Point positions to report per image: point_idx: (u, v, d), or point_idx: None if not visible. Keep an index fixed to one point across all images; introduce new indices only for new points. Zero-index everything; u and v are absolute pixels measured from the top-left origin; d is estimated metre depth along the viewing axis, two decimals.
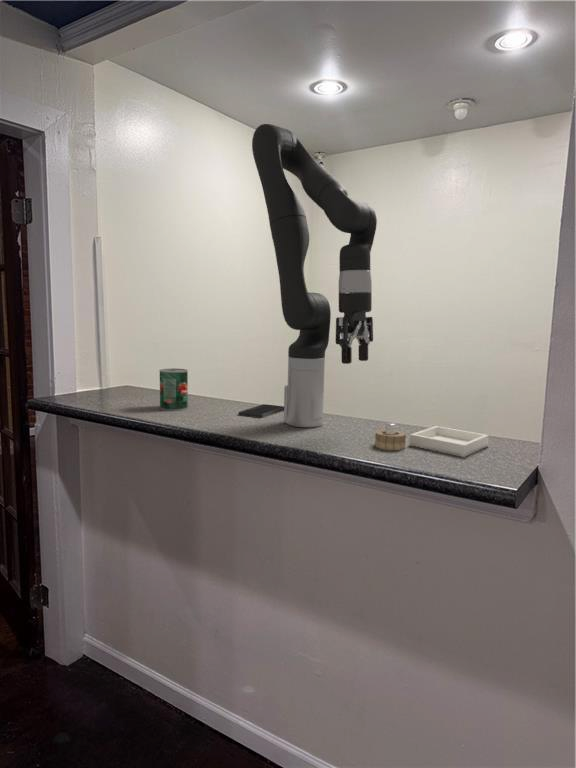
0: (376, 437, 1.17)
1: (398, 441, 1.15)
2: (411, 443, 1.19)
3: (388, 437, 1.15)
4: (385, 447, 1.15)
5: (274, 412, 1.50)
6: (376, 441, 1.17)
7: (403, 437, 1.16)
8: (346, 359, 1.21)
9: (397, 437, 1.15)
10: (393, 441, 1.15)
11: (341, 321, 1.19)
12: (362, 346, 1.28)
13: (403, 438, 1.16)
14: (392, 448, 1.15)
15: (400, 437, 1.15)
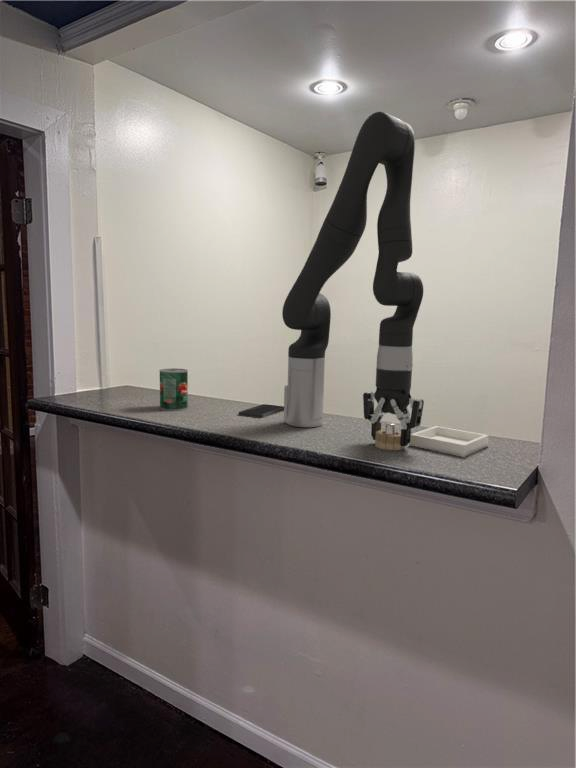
0: (376, 437, 1.17)
1: (398, 441, 1.15)
2: (411, 443, 1.19)
3: (388, 437, 1.15)
4: (385, 447, 1.15)
5: (274, 412, 1.50)
6: (376, 441, 1.17)
7: None
8: (409, 441, 1.15)
9: (397, 437, 1.15)
10: (393, 441, 1.15)
11: (421, 404, 1.12)
12: (378, 424, 1.20)
13: None
14: (392, 448, 1.15)
15: (400, 437, 1.15)
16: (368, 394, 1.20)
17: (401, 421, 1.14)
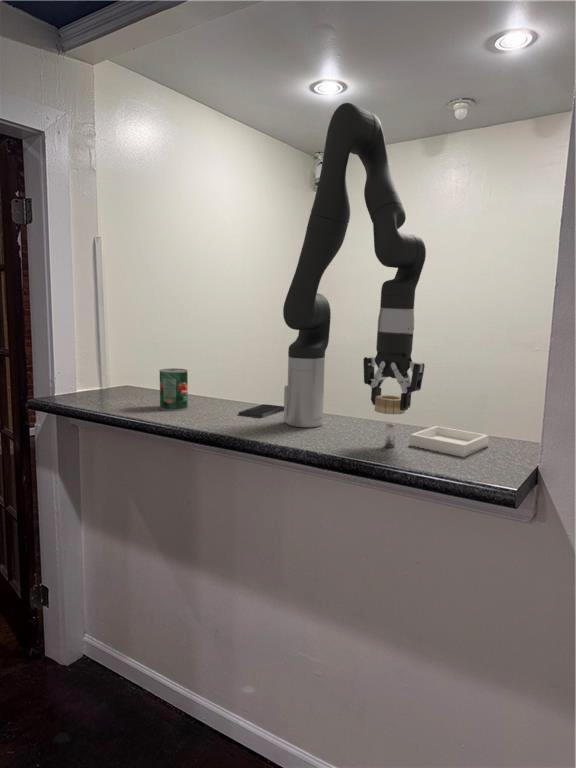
0: (376, 402, 1.16)
1: (398, 405, 1.14)
2: (411, 443, 1.19)
3: (388, 401, 1.14)
4: (385, 411, 1.14)
5: (274, 412, 1.50)
6: (376, 406, 1.16)
7: None
8: (409, 405, 1.14)
9: (397, 401, 1.14)
10: (393, 405, 1.14)
11: (421, 368, 1.11)
12: (378, 389, 1.18)
13: None
14: (392, 412, 1.14)
15: (400, 401, 1.14)
16: (368, 358, 1.19)
17: (401, 385, 1.13)
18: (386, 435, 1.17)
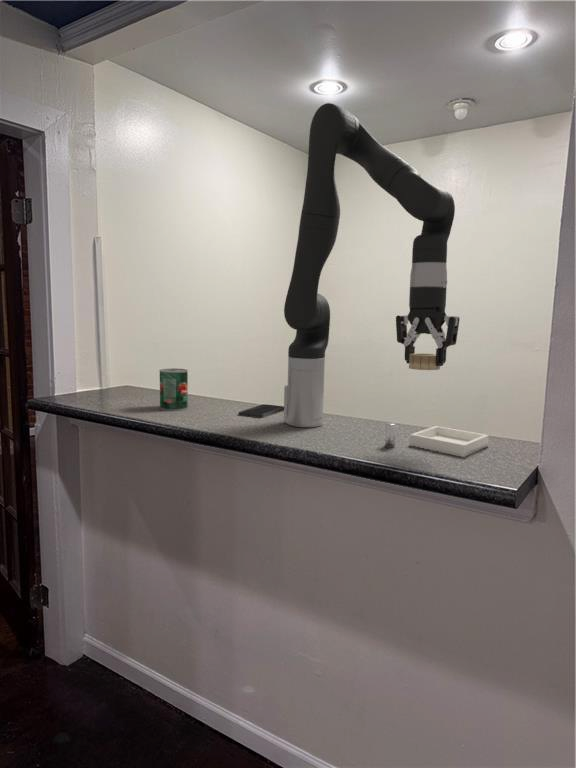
0: (410, 359, 1.15)
1: (433, 361, 1.13)
2: (411, 443, 1.19)
3: (423, 357, 1.12)
4: (420, 367, 1.13)
5: (274, 412, 1.50)
6: (410, 363, 1.15)
7: None
8: (445, 361, 1.13)
9: (432, 356, 1.12)
10: (428, 361, 1.12)
11: (457, 321, 1.10)
12: (411, 347, 1.17)
13: None
14: (427, 368, 1.13)
15: (435, 357, 1.13)
16: (401, 317, 1.18)
17: (436, 340, 1.12)
18: (386, 435, 1.17)
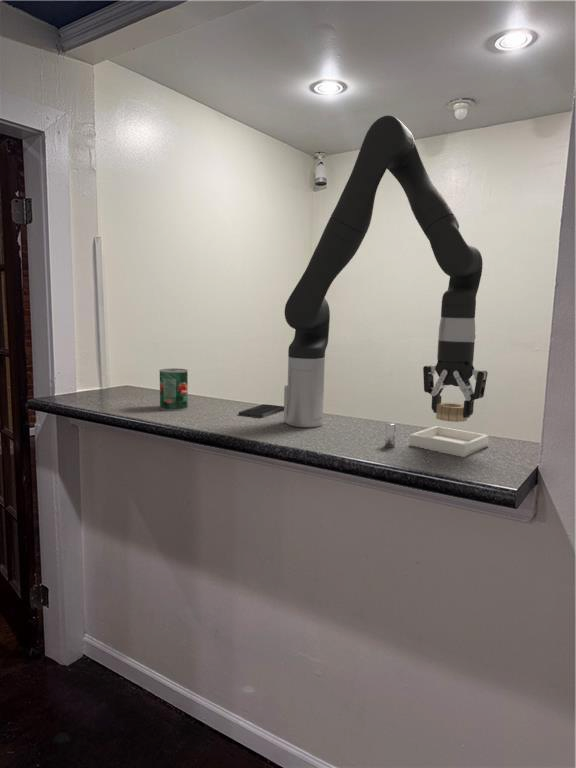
0: (438, 409, 1.18)
1: (461, 413, 1.16)
2: (411, 443, 1.19)
3: (451, 409, 1.15)
4: (448, 419, 1.16)
5: (274, 412, 1.50)
6: (438, 413, 1.18)
7: None
8: (472, 413, 1.16)
9: (460, 409, 1.15)
10: (456, 413, 1.15)
11: (485, 375, 1.13)
12: (438, 397, 1.20)
13: None
14: (455, 420, 1.16)
15: (463, 409, 1.16)
16: (428, 367, 1.20)
17: (464, 393, 1.15)
18: (386, 435, 1.17)
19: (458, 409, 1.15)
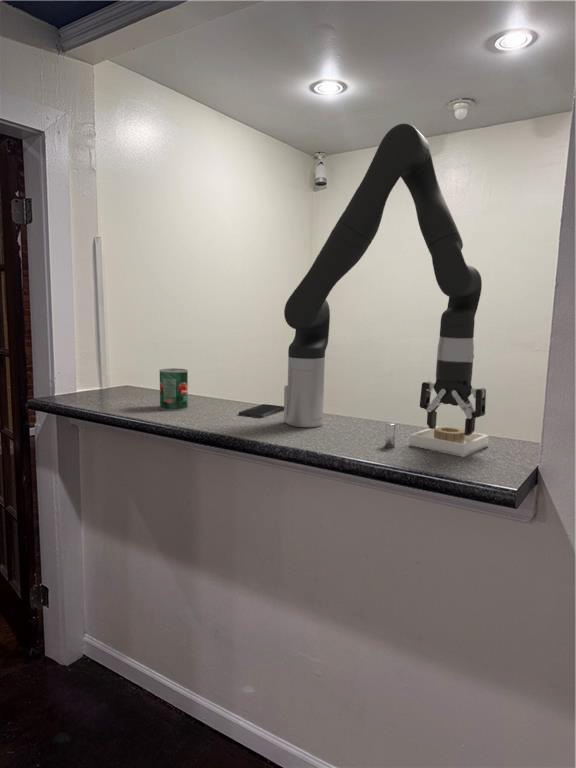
0: (435, 434, 1.19)
1: (458, 438, 1.16)
2: (411, 443, 1.19)
3: (448, 434, 1.16)
4: None
5: (274, 412, 1.50)
6: (435, 438, 1.19)
7: (463, 434, 1.17)
8: (473, 430, 1.16)
9: (457, 434, 1.16)
10: (454, 438, 1.16)
11: (483, 393, 1.13)
12: (434, 413, 1.21)
13: (463, 435, 1.17)
14: None
15: (460, 434, 1.16)
16: (427, 384, 1.21)
17: (465, 411, 1.15)
18: (386, 435, 1.17)
19: (455, 434, 1.16)
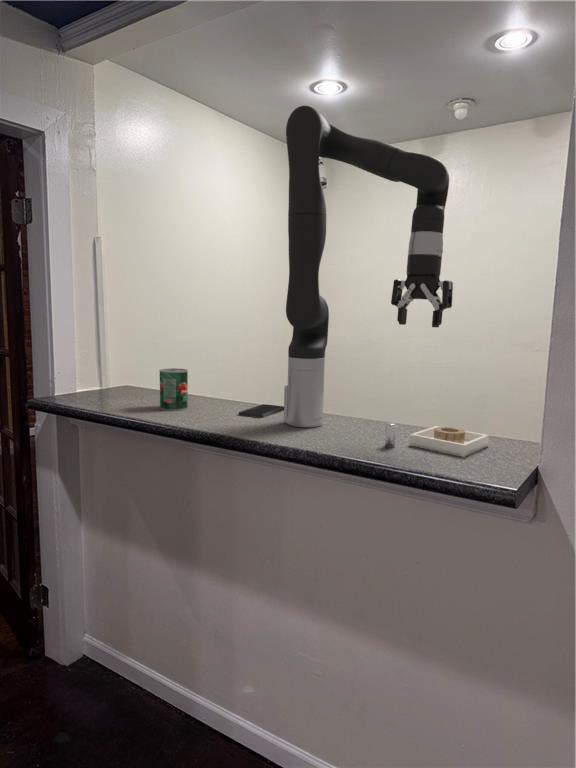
0: (435, 434, 1.19)
1: (458, 438, 1.16)
2: (411, 443, 1.19)
3: (448, 434, 1.16)
4: None
5: (274, 412, 1.50)
6: (435, 438, 1.19)
7: (463, 434, 1.17)
8: (440, 323, 1.21)
9: (457, 434, 1.16)
10: (454, 438, 1.16)
11: (450, 284, 1.19)
12: (404, 310, 1.26)
13: (463, 435, 1.17)
14: None
15: (460, 434, 1.16)
16: (399, 281, 1.26)
17: (433, 303, 1.20)
18: (386, 435, 1.17)
19: (455, 434, 1.16)
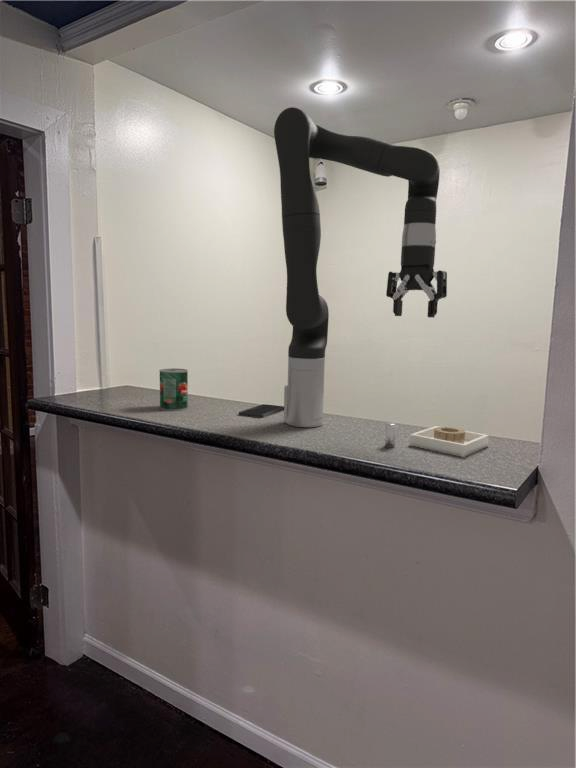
0: (435, 434, 1.19)
1: (458, 438, 1.16)
2: (411, 443, 1.19)
3: (448, 434, 1.16)
4: None
5: (274, 412, 1.50)
6: (435, 438, 1.19)
7: (463, 434, 1.17)
8: (436, 313, 1.22)
9: (457, 434, 1.16)
10: (454, 438, 1.16)
11: (444, 274, 1.20)
12: (399, 301, 1.28)
13: (463, 435, 1.17)
14: None
15: (460, 434, 1.16)
16: (393, 273, 1.27)
17: (428, 293, 1.21)
18: (386, 435, 1.17)
19: (455, 434, 1.16)
